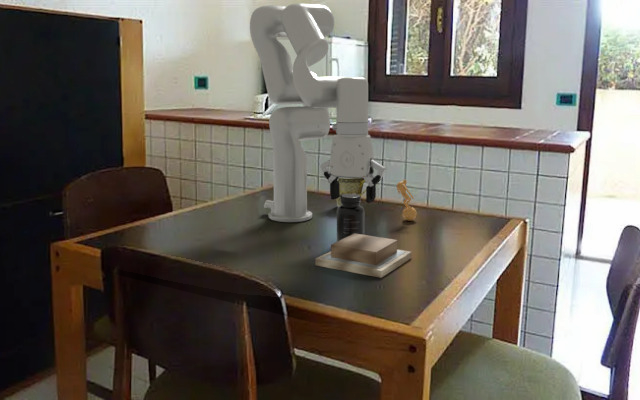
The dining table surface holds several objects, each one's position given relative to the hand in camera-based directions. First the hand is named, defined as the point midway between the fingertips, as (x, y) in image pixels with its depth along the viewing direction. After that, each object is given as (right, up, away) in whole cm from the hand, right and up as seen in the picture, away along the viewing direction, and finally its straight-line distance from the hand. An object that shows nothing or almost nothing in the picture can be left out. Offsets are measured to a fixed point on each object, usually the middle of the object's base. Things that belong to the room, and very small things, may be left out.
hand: (352, 200), depth 153 cm
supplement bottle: (0, -11, +3) cm, 11 cm away
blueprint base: (+2, -14, -12) cm, 18 cm away
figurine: (+16, -6, +25) cm, 31 cm away
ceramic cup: (+2, -3, +41) cm, 42 cm away
